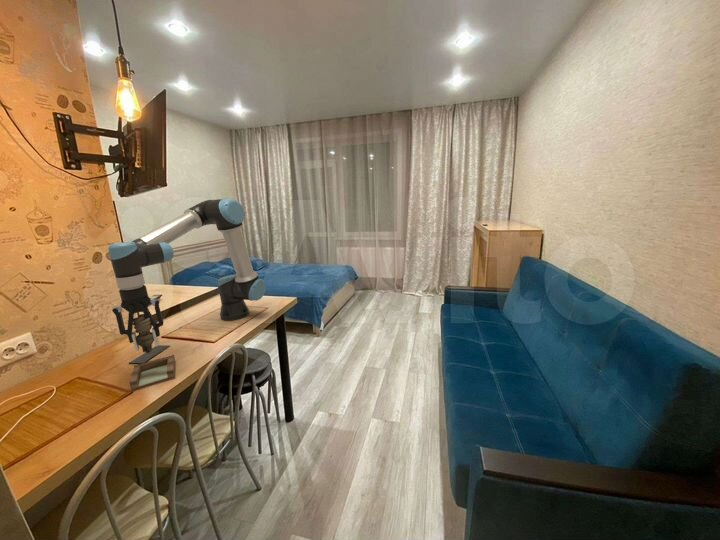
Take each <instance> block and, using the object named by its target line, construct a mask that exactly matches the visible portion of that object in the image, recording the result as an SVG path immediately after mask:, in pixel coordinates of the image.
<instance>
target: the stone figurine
mask: <svg viewBox="0 0 720 540" xmlns="http://www.w3.org/2000/svg"><path fill="white" fill-rule="evenodd" d="M149 320H150V318H147V317H146V315H145V314H144V313H140V314H139V315H138V317H135V318H133V326H134V327H133V329H134V332H135V333H136V334H137V335H136V341H137V344H138V345H139V347H140V348H141V349H142V353H145V352H146V353H149V352H150V351H152V348H153V343H154V342H155V341H154V337H153V333H152V328H153V326H152V325H151V322H150V321H149Z"/></svg>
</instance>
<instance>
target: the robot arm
mask: <svg viewBox="0 0 720 540" xmlns="http://www.w3.org/2000/svg"><path fill="white" fill-rule="evenodd" d="M245 213H246V212H245V209H244V208H243V206H242V204H241V203H240V202H239V201H237V200H236V199H235V198H234V199H232V198H219V199H217V198H216V199H207V200H204V201H201V202H199V203H196V204H195V205H193V206H191V207H189V208H187V209H185V210H184V212H183V214H181V215H179V216H177V217H176V218H174V219H172V220H170V221H168V222H166V223H164V224H163V225H161V226H158V227H157V228H155V229H153V230H151V231H149V232H147V233H146V234H143V235H142V236H139V237H138V238H136V239H134V240H132V241H128V242H127V241H126V242H116V243H112V244H109V245H108V248H107V249H108V254H109V260H110V261H111V262H110V263H111V267H112V271H113V273H114V277H115V281H116V284H117V288H118V289H119V290H118V294H119V296H120V301H121V303H120V305H117V306H114V307H113V308H112V310H111V311H112V313H113V314H114V315H115V319H116V323H117V327H118V330H119V331H118V332H119V334H120V335H121V336H123V335H125V336H126V335H127V337H128V342H129V343H130V344H133V346H134V350H135V352H139V351H140V346H139V345H138V344H137V341H136V336H137V333H136V332H135V331H133V329H134V327H133V326H134V325H133V319H134V317H135V314H137V313H142V314H145V315H146V317H147V318H150V320H149V321H150V322H151V325H152V328H151V332H152V333H153V337H154V341H153V342H154V345H155V346H158V345H159V343H160V342H159V340H158V337H160V335H161V332H160V327H162V326H164V318H163V315H162V311H161V308H160V301H161V300H160V298H156V299H152V298H151V297H150V296H149V293H148V290H147V285H145V284H146V281H145V277H144V274H143V268H145V267H148V266H154V265H158V264H164V263H168V262H169V261H172V260H173V258H174V256H175V255H174V249H173V247H172V246H171V244H170V243H172V242H174V241H175V240H177V239H179V238H181V237H182V236H183V235H185V234H188V232H191V231H192V230H194V229H196V230H197V229H200V228H202V227H204V226H207V225H208V226H209V225H215V226H216V230H217V231H218V232H221V233H222V237H223V239H224V242H225V246H226V248H227V251H228V253H229V257H230V260H231V263H232V265H233V268H234V269H233V270H234V272H235V273H234V274H229V275H225V276H222V277H220V278H218V280H217V287H218V289H217V290H218V293H219V298H220V303H221V305H220V312H219V317H220V320H222V321H226V322H227V321H236V320H241V319H242V318H245V317H246V316H249V314H250V310H249V309H250V308H249V307H248V306H247V304H246V302H245V301H255V302H257V301H260V300H261V299H263V296H264V295H265V293H266V288H267V285H266V282H265V280H264V279H262V278H259V274H258V272H256V271H254V268H253V264H252V261H251V258H250V256H249V252H248V248H247V246H246V245H247V244H246V242H245V239H244V235H243V232H242V227H243V225H244V224H243V222H244V220H245V215H246V214H245ZM150 304H151V305H152V306H154V311H155V314H156V317H157V320H156V319H155V317H154V316H153V315H152V312H151V311H150V309H149V308H148V307H149V305H150ZM123 309H124V310H125V311H126V312H128V317H127V318H128V319H127V320H128V322H127V329H126V326H125V322H124V318H123V314H122V311H123ZM157 321H158V322H157Z"/></svg>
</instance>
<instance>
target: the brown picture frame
mask: <svg viewBox="0 0 720 540" xmlns="http://www.w3.org/2000/svg"><path fill="white" fill-rule="evenodd" d="M176 364H177V363H176V358H175V355H174V354H172V355H167V356H165V357H161V358H157V359H153V360H149V361H148V362H145V363H142V364H133V368H132V371H131V374H130V375H131V376H130V379H129V382H128V383H129V386H130V391H131V392H136V391H139V390H142V389H144V388H147V387H152V386H154V385H158V384H161V383H165V382H168V381H170V380H174V379H176Z"/></svg>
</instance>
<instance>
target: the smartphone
mask: <svg viewBox="0 0 720 540" xmlns="http://www.w3.org/2000/svg"><path fill="white" fill-rule="evenodd" d="M170 347H171V345H166V344H165V345H162V344H160V345H158V346H156V345H155V346H153V347H152V351H150V352H149V353H146V352H143V353H142V354H141V355H139V356H137V357H135V358H134V359H133V360H131V361H129V362H128V365H138V364H142V363H145V362H149V361H152V359H153V358H155V357H157V356H158V355H160V354H161V353H163V352H164V351H166V350H167V349H168V348H170Z"/></svg>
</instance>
